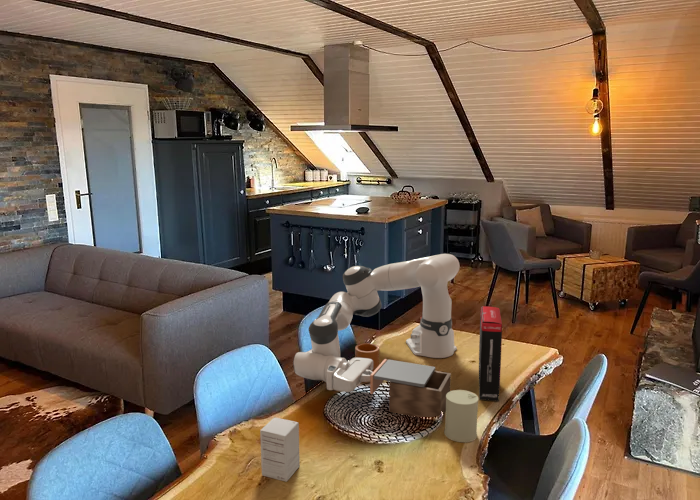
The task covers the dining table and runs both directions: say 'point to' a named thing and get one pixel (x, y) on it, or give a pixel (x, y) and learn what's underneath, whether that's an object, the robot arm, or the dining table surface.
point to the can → (461, 416)
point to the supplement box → (280, 449)
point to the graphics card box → (490, 353)
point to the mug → (368, 353)
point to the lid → (400, 374)
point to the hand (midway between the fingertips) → (377, 377)
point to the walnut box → (421, 396)
